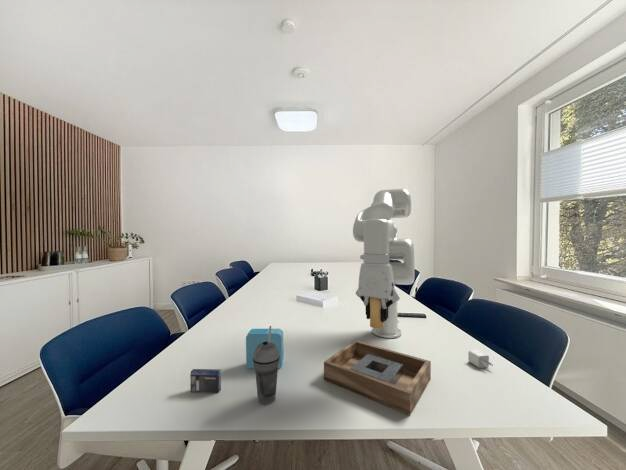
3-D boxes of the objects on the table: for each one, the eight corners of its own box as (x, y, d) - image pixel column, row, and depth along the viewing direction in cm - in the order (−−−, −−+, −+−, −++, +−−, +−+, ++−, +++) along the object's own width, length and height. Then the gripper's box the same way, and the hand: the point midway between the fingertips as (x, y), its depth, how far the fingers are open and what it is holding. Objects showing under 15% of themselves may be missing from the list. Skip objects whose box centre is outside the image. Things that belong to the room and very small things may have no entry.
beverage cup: (255, 392, 74) (254, 322, 74) (280, 390, 75) (280, 321, 75) (251, 409, 67) (250, 332, 67) (279, 407, 68) (278, 330, 67)
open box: (355, 355, 96) (355, 340, 96) (430, 378, 80) (430, 361, 80) (323, 379, 80) (323, 362, 80) (410, 415, 64) (409, 393, 64)
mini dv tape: (190, 392, 74) (190, 371, 74) (193, 389, 76) (192, 368, 76) (218, 393, 74) (218, 372, 74) (220, 389, 76) (220, 369, 76)
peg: (367, 326, 79) (367, 293, 79) (373, 323, 82) (373, 291, 82) (380, 329, 77) (380, 295, 77) (385, 325, 80) (385, 293, 80)
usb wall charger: (478, 360, 91) (478, 349, 91) (495, 371, 84) (495, 358, 84) (468, 361, 90) (468, 350, 90) (484, 372, 84) (484, 360, 83)
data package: (283, 362, 91) (283, 328, 91) (282, 369, 87) (281, 333, 87) (249, 362, 91) (249, 328, 91) (246, 369, 87) (245, 333, 87)
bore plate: (368, 362, 88) (367, 353, 88) (403, 374, 81) (403, 364, 81) (350, 378, 79) (350, 368, 79) (388, 393, 72) (388, 382, 72)
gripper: (346, 259, 82) (346, 317, 82) (399, 262, 71) (399, 328, 71) (357, 257, 88) (358, 311, 88) (408, 260, 77) (408, 321, 77)
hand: (376, 318), depth 80 cm, fingers closed on peg, 4 cm apart
